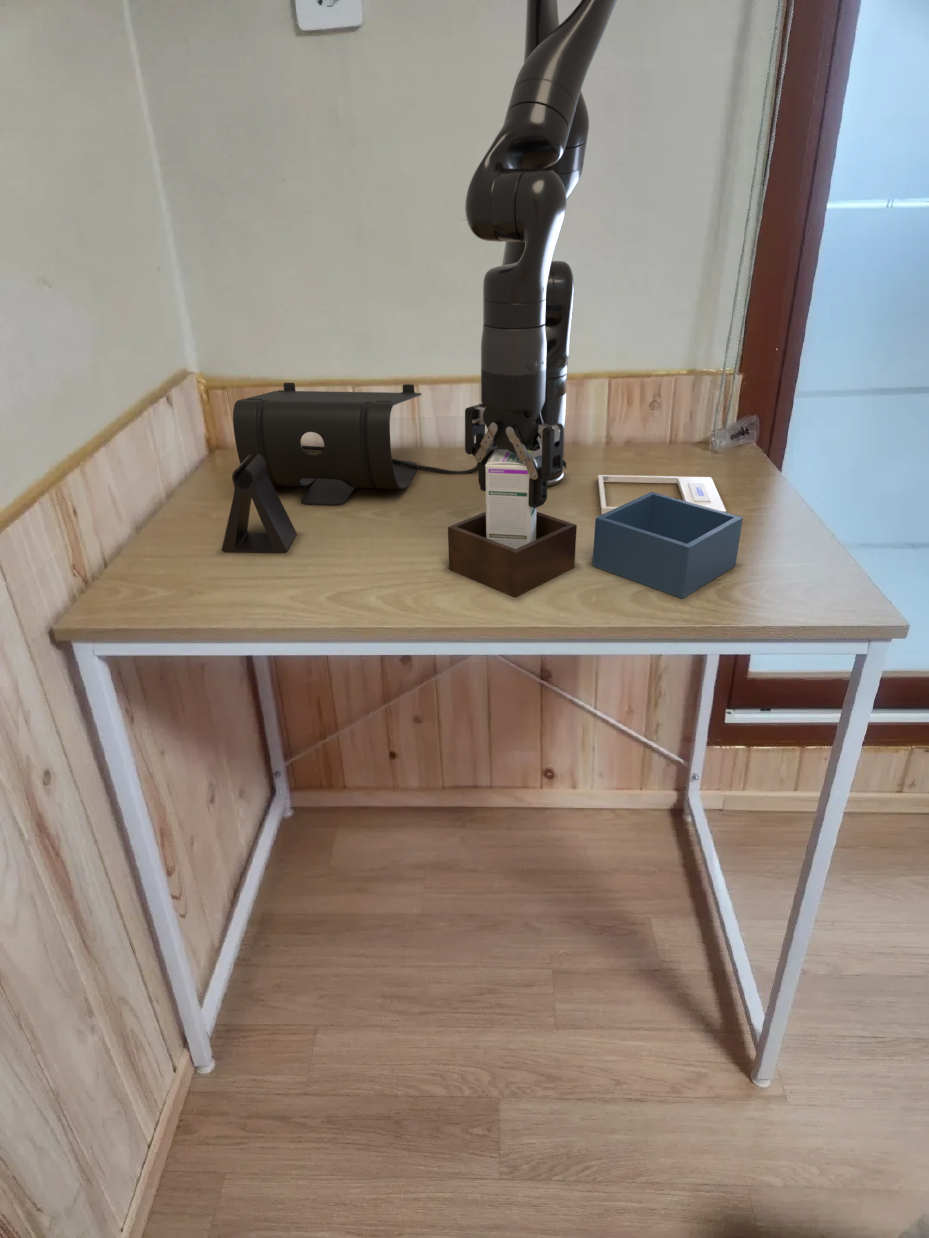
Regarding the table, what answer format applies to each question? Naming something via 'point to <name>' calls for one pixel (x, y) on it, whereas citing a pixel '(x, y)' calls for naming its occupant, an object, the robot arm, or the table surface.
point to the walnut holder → (512, 554)
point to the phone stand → (268, 506)
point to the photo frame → (690, 487)
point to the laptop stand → (346, 428)
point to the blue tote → (666, 543)
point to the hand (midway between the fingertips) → (511, 497)
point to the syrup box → (509, 500)
